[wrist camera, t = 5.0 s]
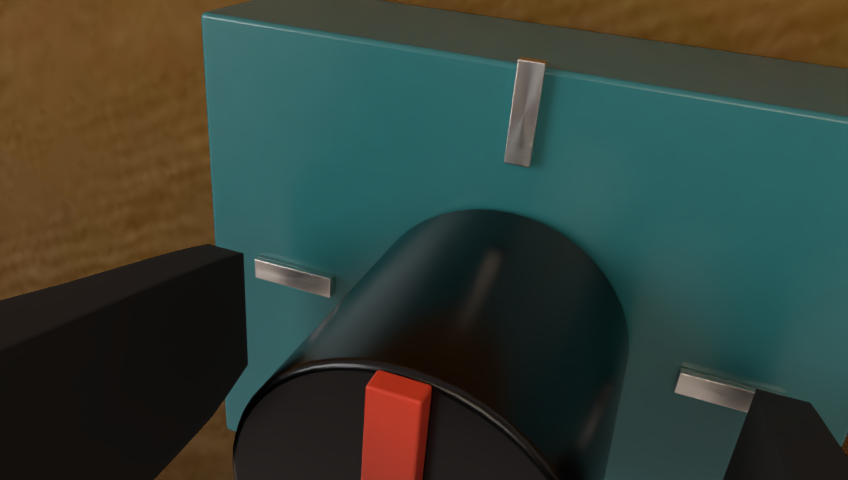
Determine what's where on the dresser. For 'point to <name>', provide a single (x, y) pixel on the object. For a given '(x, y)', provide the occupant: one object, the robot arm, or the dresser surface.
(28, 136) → the dresser surface
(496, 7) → the dresser surface
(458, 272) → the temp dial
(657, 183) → the dial panel
